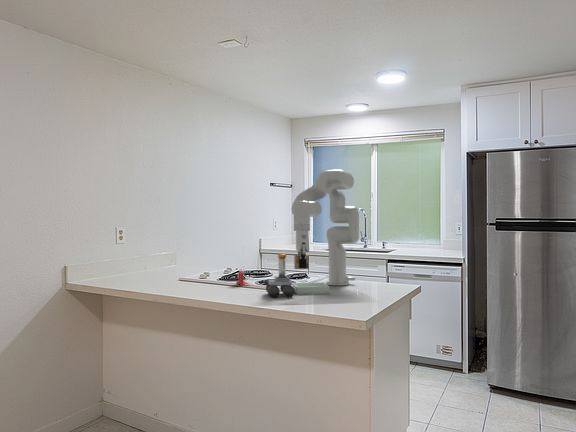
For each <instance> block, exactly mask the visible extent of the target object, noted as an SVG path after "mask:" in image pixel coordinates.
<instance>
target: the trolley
mask: <svg viewBox="0 0 576 432" xmlns="http://www.w3.org/2000/svg"><path fill="white" fill-rule="evenodd" d="M278 286H280V288H279V287H278ZM265 291H266V292H267V294H268V296H269V297H270V298H272V299H275V298H277V297H279V295H280V293H281V292H282V294H283V296H285V297H286V298H292V297H294V295H296V293H295V289H294V288H293V281H292V280H291V278H290V276H288V275H287V276H286V278H279V276H274V279H268V283H267V284H266V286H265Z"/></svg>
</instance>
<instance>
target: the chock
mask: <svg viewBox="0 0 576 432" xmlns="http://www.w3.org/2000/svg"><path fill="white" fill-rule="evenodd" d="M293 256H294V257H293V258H294V259H293V260H294V269H295V270H309V265H310V264H309V262H310V261H309V259H310V258H309V257H310V256H309V255H308V254H306V268H299V259H300V255H298V254H296V255H295V254H294V255H293Z"/></svg>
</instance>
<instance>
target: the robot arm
mask: <svg viewBox="0 0 576 432" xmlns="http://www.w3.org/2000/svg"><path fill="white" fill-rule="evenodd" d="M354 184H355V180H354V177H353V175H352V174H351V173H350V172H348V171H345V170H343V169H327V170H322V171H320V172H319V173H318V175H317V176H316V179H315V180H314V182H313V184H312V185H311V186H310V187H309V188H308V187H307V188H306V189H305V190H303V191H302V192H300V193H299V194H298V195H297V196H296V197H295V199H294V201H293V202H292V205H291V214H292V215H293V231H294V232H295V251H296V252H297V255H300V259H299V268H306V255H307V253H309V252H310V236H309V231H311V218H315V217H316V218H317V217H319V215H321V213H322V205H321V203H319V202H318V201H320V200H322V199H324V198H325V197H326V196H327V195H328V197H329V220H330V222H331V224H336V225H335V226H334V225H333V226H330V227H329V228H328V229H327V231H326V241H327V247H328V248H327V249H328V280H327V281H325V284H327V285H328V286H347V285H350V281H356V277H355V276H348V275H347V251H346V249H345V247H344V245H354V244H355V245H356V244H357V242H359V238H360V214H359V209H358V208H357V207H356V206H353V205H352V206H351V205H348V206H347V205H346V195H345V194H344V192H343V191H342V190H350V189H352V188H353V187H354ZM337 224H339V225H338V226H337ZM341 224H343V225H344V224H345V225H347V224H348V226H345V225H344V226H343V225H341Z"/></svg>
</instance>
